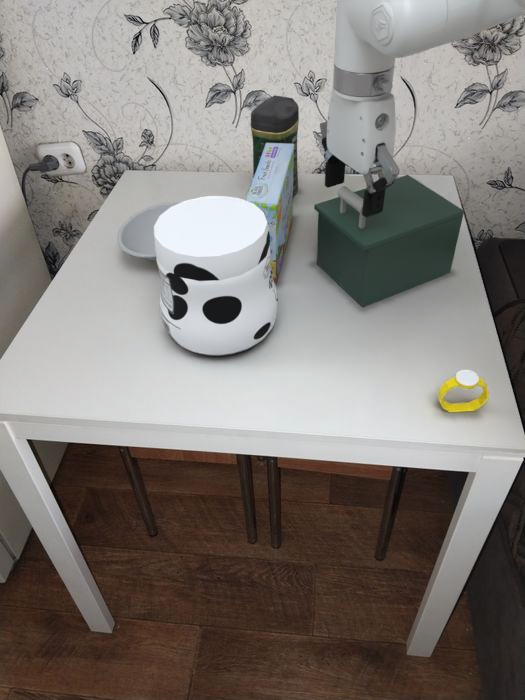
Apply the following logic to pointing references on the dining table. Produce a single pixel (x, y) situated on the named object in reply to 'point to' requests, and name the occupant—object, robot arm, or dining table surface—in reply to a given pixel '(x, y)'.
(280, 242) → the snack box
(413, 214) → the bin lid
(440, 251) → the bin
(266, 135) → the coffee jar
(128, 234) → the dish
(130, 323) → the dining table surface
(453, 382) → the watch
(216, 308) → the doce de leite jar
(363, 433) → the dining table surface
